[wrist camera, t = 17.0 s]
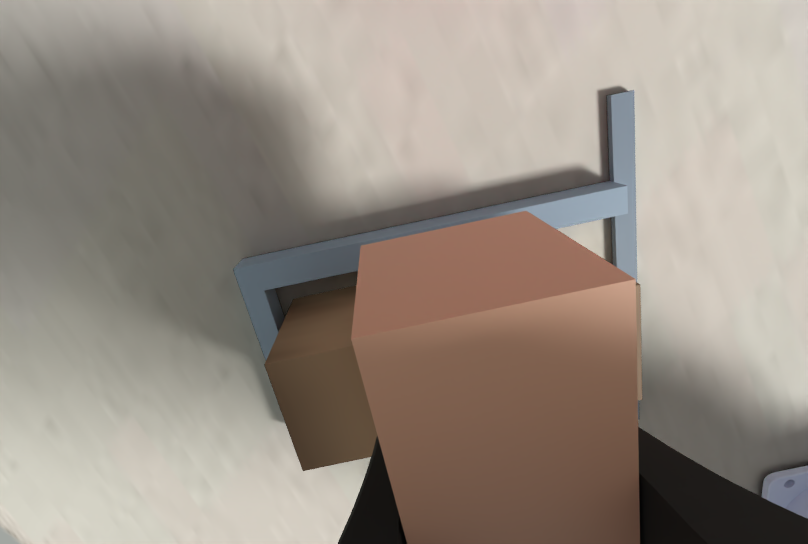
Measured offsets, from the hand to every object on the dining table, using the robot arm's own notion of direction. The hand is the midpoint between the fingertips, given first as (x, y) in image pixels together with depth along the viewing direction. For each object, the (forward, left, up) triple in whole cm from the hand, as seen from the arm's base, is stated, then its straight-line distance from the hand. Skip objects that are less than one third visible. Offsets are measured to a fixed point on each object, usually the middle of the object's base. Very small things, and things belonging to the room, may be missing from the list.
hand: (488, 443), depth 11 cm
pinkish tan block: (0, 0, -2) cm, 2 cm away
